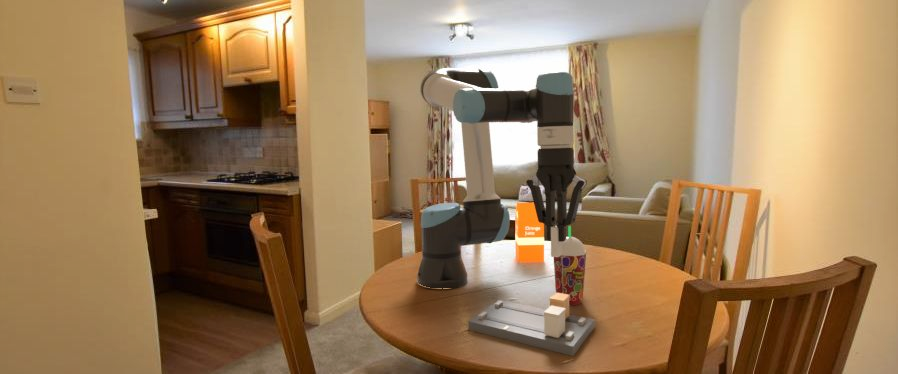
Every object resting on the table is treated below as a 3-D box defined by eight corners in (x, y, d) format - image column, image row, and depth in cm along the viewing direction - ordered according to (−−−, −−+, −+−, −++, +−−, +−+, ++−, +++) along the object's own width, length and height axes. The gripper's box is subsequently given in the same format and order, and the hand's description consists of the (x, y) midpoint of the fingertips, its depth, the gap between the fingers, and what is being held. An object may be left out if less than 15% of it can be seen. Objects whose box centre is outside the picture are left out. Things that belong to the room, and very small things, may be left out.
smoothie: (580, 310, 110) (581, 230, 108) (548, 304, 115) (548, 227, 112) (589, 299, 117) (590, 224, 115) (558, 293, 122) (558, 221, 119)
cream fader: (543, 334, 92) (543, 312, 92) (551, 327, 96) (551, 305, 95) (558, 338, 90) (558, 315, 90) (565, 330, 94) (565, 308, 93)
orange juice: (544, 261, 152) (544, 204, 150) (518, 262, 152) (517, 204, 150) (539, 255, 160) (539, 200, 158) (515, 256, 160) (514, 201, 158)
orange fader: (549, 319, 100) (549, 298, 99) (556, 312, 103) (556, 292, 103) (563, 322, 98) (563, 300, 98) (569, 315, 102) (569, 294, 101)
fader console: (468, 329, 101) (468, 317, 101) (499, 307, 113) (498, 296, 113) (572, 356, 88) (573, 342, 87) (594, 327, 100) (594, 315, 100)
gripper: (519, 148, 95) (521, 256, 98) (580, 146, 88) (580, 263, 90) (533, 147, 102) (535, 248, 104) (591, 145, 94) (591, 255, 97)
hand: (556, 255), depth 97 cm, fingers closed
